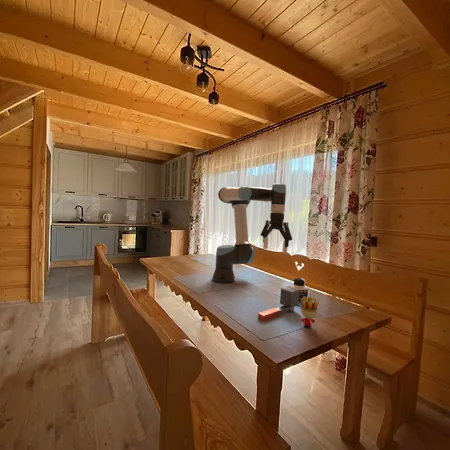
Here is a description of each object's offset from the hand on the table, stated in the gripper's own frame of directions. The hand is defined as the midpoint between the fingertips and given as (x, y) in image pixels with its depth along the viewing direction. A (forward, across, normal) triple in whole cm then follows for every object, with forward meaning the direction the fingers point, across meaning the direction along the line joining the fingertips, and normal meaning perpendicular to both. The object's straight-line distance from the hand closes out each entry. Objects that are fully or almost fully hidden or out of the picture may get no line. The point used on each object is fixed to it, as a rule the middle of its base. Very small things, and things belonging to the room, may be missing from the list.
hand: (274, 250), depth 143 cm
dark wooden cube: (+24, +16, -6) cm, 29 cm away
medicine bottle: (+27, +10, +11) cm, 31 cm away
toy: (+27, +32, -14) cm, 44 cm away
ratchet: (+27, +16, -15) cm, 35 cm away
